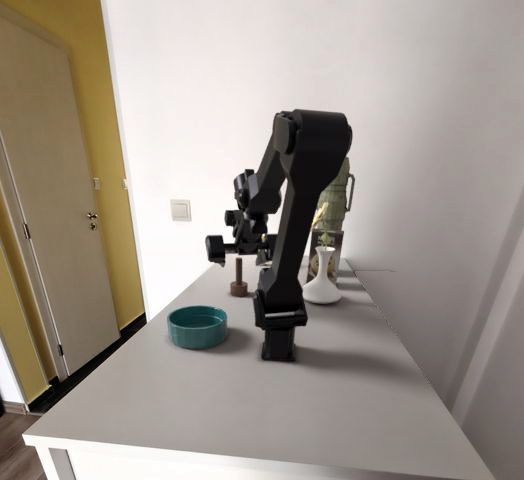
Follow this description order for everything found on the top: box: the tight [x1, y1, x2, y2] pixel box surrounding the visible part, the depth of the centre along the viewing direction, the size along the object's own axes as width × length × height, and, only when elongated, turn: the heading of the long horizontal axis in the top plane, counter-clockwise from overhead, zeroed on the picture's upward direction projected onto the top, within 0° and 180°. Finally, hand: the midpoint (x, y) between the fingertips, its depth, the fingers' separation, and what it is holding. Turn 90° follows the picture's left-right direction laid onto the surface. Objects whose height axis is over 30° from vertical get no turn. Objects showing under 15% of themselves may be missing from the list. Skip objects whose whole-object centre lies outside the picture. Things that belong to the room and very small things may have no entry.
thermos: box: [316, 156, 356, 231], centre depth 106 cm, size 9×12×35 cm
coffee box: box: [305, 227, 345, 287], centre depth 99 cm, size 9×6×16 cm
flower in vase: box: [301, 202, 342, 305], centre depth 84 cm, size 13×11×25 cm
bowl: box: [166, 304, 228, 350], centre depth 69 cm, size 12×12×4 cm
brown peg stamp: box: [229, 256, 249, 298], centre depth 91 cm, size 5×5×10 cm
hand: (239, 264), depth 89 cm, fingers open, 9 cm apart
